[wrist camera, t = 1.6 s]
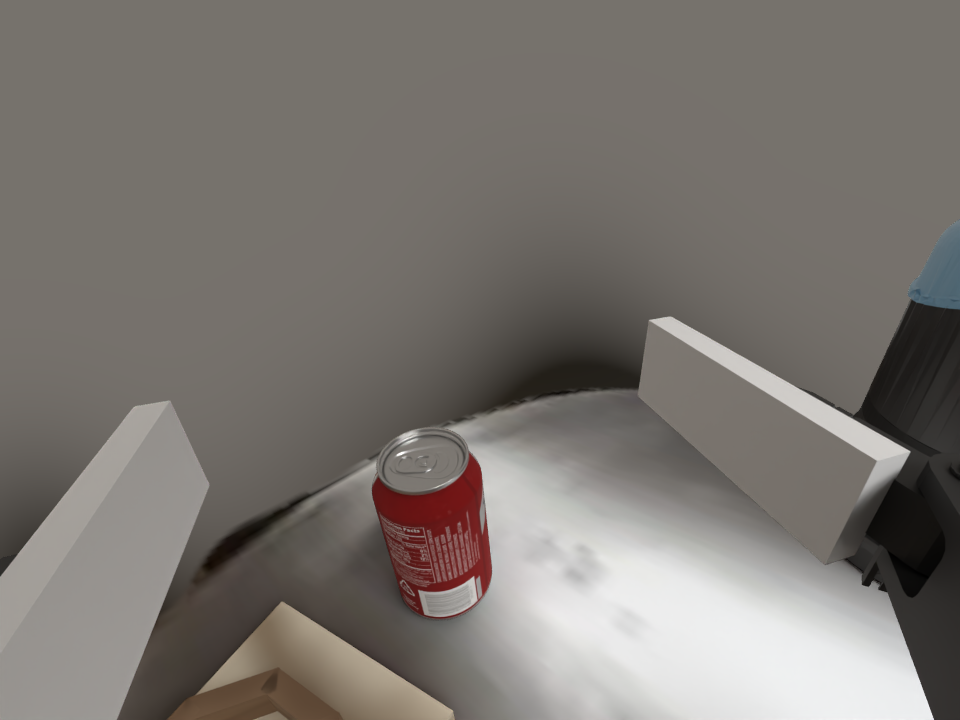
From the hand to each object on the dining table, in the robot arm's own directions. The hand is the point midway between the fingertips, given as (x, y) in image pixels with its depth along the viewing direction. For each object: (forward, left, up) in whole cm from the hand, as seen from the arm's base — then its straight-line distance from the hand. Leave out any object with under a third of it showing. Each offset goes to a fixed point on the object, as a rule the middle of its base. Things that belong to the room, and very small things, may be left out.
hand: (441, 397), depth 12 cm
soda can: (-7, -7, -23) cm, 25 cm away
